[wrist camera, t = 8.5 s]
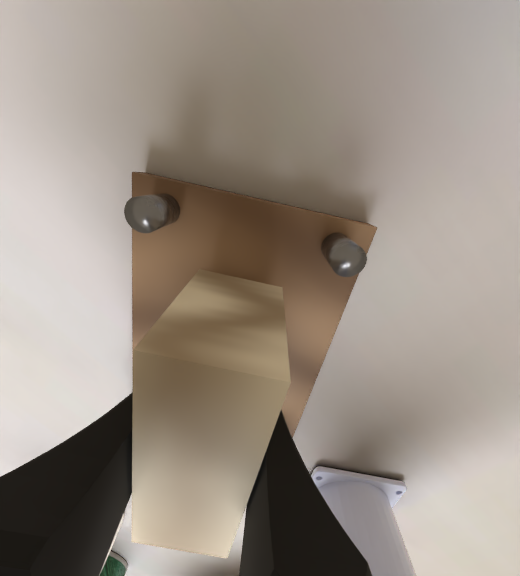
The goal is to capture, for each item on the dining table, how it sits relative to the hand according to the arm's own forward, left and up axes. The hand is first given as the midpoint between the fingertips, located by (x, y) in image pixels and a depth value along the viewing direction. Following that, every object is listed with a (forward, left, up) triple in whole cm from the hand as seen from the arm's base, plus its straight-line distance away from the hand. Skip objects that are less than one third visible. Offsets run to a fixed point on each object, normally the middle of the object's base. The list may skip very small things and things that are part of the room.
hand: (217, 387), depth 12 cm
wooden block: (0, 0, -2) cm, 2 cm away
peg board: (0, 0, -4) cm, 4 cm away
